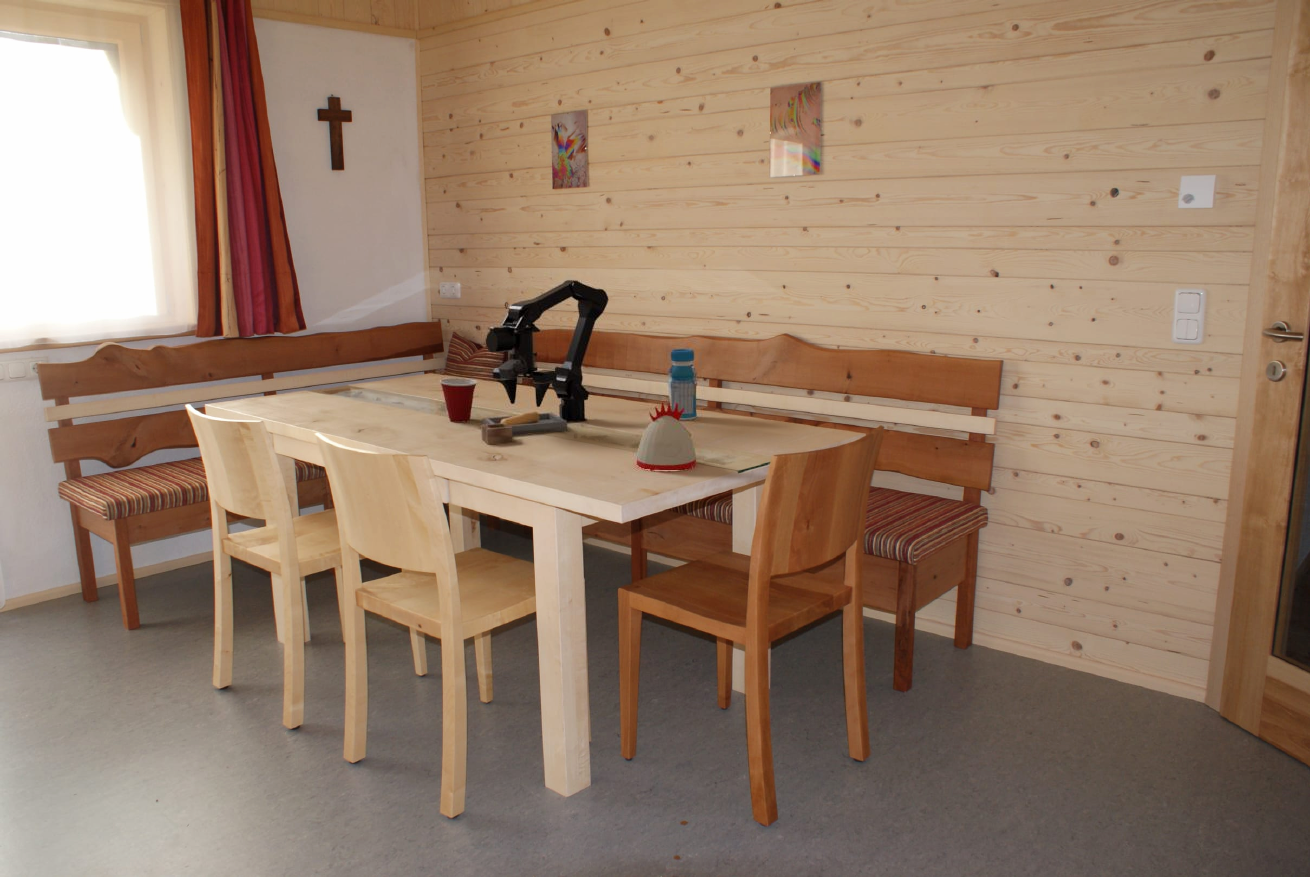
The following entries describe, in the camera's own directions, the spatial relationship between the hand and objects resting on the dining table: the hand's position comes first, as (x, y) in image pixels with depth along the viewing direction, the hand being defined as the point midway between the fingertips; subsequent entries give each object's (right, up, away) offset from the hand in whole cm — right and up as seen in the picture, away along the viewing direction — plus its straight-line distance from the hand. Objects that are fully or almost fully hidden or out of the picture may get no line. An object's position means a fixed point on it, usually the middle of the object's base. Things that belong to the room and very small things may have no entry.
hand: (525, 405), depth 271 cm
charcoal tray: (0, -7, +1) cm, 7 cm away
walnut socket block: (-5, -10, -15) cm, 19 cm away
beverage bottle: (+44, -4, +13) cm, 46 cm away
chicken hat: (+39, -16, -43) cm, 60 cm away
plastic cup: (-21, -4, +14) cm, 25 cm away
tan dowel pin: (+2, -3, +5) cm, 6 cm away
